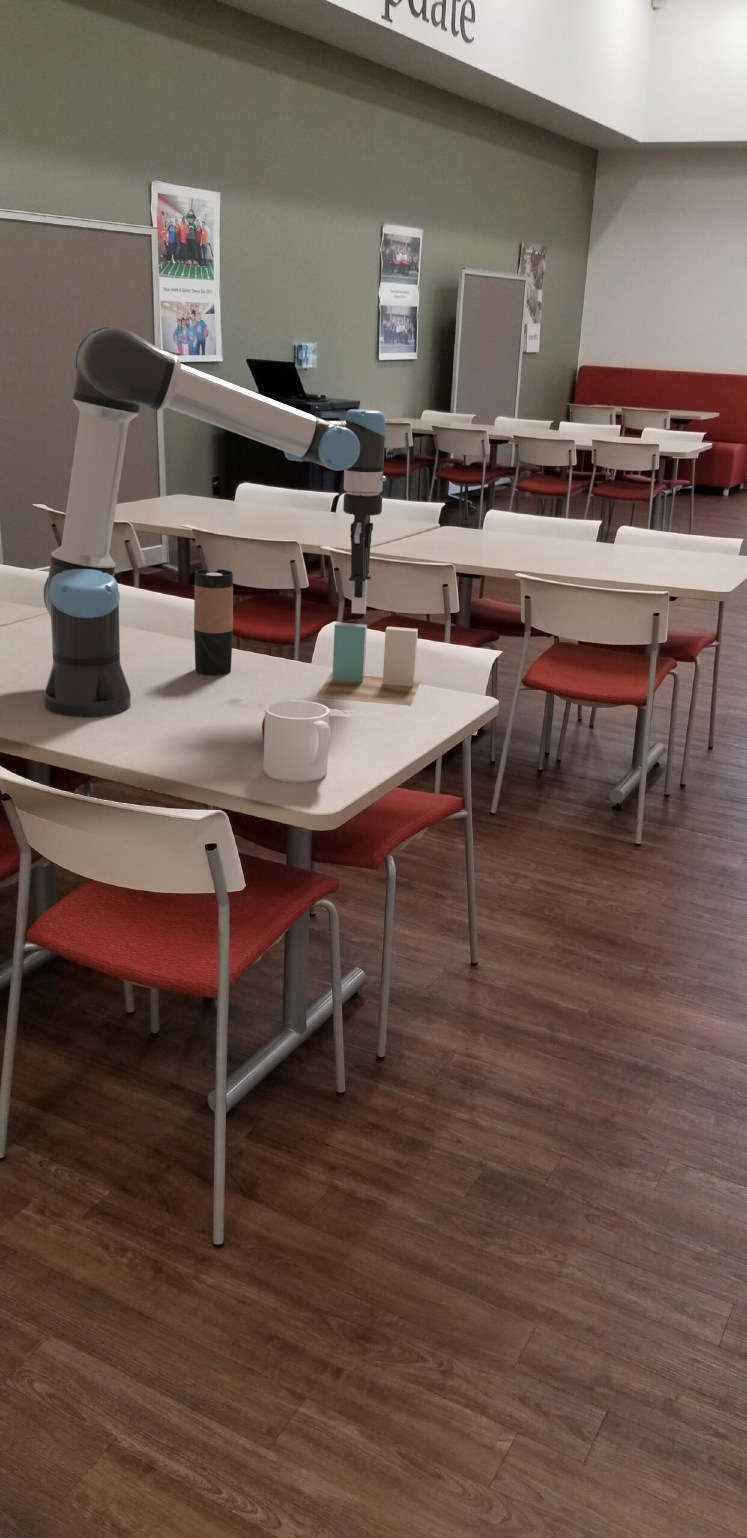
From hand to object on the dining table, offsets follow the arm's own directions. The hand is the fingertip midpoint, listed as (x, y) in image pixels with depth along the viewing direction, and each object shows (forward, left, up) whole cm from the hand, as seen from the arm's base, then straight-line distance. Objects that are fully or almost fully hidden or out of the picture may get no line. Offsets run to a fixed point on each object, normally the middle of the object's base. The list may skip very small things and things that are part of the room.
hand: (358, 612), depth 239 cm
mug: (-61, -1, -13) cm, 63 cm away
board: (-13, -5, -13) cm, 19 cm away
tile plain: (-8, -10, -12) cm, 17 cm away
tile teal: (-8, 0, -12) cm, 14 cm away
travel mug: (-6, +28, -13) cm, 32 cm away
